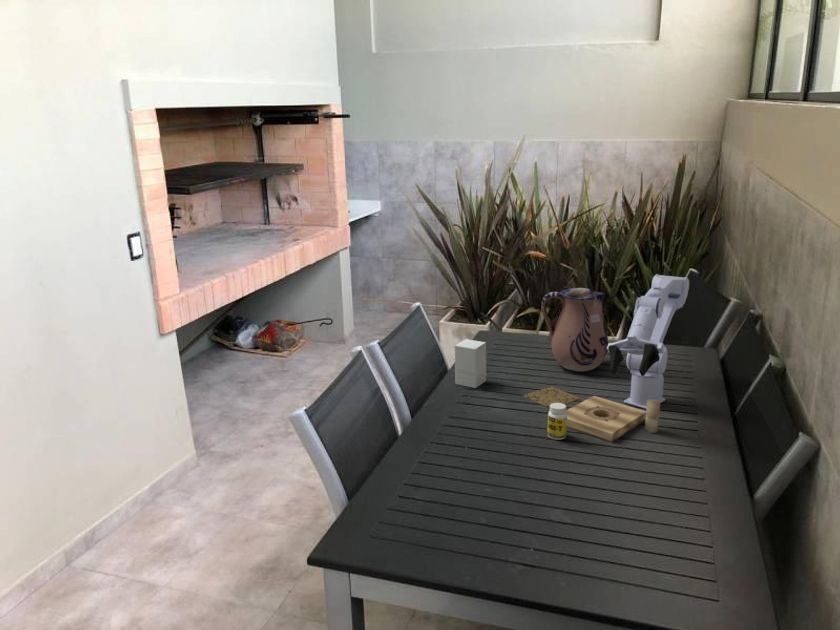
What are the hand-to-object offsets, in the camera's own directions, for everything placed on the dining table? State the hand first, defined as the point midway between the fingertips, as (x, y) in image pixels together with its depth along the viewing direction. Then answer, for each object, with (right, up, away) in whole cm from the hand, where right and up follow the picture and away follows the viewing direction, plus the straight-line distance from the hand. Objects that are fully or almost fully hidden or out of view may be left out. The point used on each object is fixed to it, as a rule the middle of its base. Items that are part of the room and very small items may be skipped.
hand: (626, 372), depth 172 cm
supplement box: (-36, -6, +38) cm, 53 cm away
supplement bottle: (-17, -16, +2) cm, 24 cm away
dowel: (+8, -15, +4) cm, 18 cm away
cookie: (-14, -10, +26) cm, 31 cm away
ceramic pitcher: (-2, -3, +49) cm, 49 cm away
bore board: (-4, -14, +10) cm, 17 cm away
